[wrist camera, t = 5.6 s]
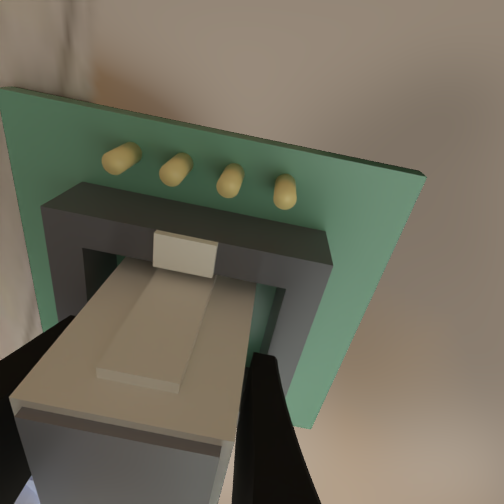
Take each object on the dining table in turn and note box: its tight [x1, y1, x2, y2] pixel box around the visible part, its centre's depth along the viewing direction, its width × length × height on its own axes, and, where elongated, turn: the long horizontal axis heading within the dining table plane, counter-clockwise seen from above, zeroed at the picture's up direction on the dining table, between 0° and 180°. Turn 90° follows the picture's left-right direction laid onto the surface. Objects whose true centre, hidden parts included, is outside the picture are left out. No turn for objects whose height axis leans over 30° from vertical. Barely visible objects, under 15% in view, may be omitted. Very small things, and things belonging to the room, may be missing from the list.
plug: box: [9, 257, 257, 504], centre depth 9 cm, size 4×4×6 cm
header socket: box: [0, 87, 427, 429], centre depth 11 cm, size 12×12×3 cm
